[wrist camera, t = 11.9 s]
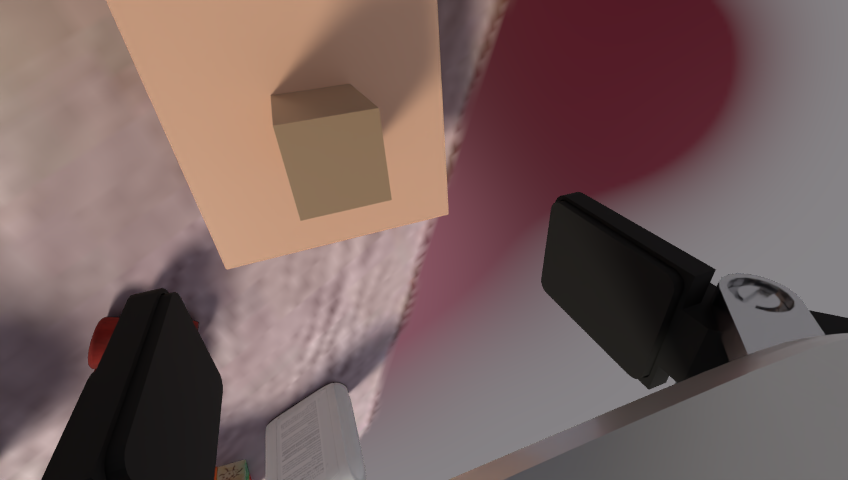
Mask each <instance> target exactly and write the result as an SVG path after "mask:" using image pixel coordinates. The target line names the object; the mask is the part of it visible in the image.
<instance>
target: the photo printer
mask: <svg viewBox="0 0 848 480" xmlns="http://www.w3.org/2000/svg"><path fill="white" fill-rule="evenodd" d="M265 480H366V470H365V465H364V461H363V455H362V450H361V446H360V441H359V436H358V431H357V427H356V422H355V417H354V413H353V408H352V403H351V399H350V396H349V394H348V390H347V388H346V387H345V386H344V385H343V384H341V383H330V384H328V385H326V386H324V387H322V388H321V389H319V390H318V391H316V392H314V393H313V394H311V395H310V396H308V397H307V398H305V399H304V400H302V401H301V402H299V403H298V404H296V405H295V406H293V407H292V408H290V409H289V410H287V411H286V412H284V413H282V414H281V415H280V416H278V417H277V418H275V419H274V420H273V421H271V422H270V423H269V424H268V425H267V427H266V473H265Z"/></svg>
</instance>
